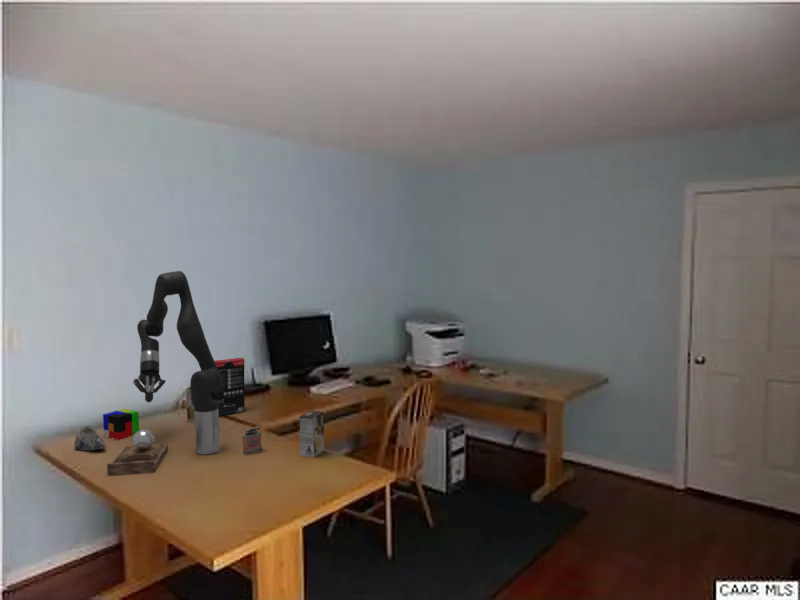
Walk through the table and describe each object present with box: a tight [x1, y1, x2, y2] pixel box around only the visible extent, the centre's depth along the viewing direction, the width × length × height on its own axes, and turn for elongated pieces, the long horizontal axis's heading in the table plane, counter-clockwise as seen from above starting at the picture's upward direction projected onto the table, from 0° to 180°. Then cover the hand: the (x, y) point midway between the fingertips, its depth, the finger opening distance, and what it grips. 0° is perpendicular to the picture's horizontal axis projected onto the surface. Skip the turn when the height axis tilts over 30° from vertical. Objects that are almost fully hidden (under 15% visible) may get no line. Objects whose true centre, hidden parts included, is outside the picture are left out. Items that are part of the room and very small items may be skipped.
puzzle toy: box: [102, 408, 140, 441], centre depth 256 cm, size 10×10×10 cm
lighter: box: [241, 426, 263, 455], centre depth 234 cm, size 8×3×10 cm, turn 129°
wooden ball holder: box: [106, 443, 169, 476], centre depth 224 cm, size 16×24×4 cm, turn 11°
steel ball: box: [131, 428, 155, 450], centre depth 230 cm, size 8×8×8 cm
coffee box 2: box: [299, 410, 325, 458], centre depth 233 cm, size 9×6×16 cm
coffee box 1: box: [185, 386, 195, 423], centre depth 277 cm, size 9×6×16 cm
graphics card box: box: [210, 357, 246, 417], centre depth 288 cm, size 17×7×27 cm, turn 130°
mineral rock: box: [73, 425, 107, 451], centre depth 237 cm, size 13×11×10 cm
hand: (149, 401), depth 240 cm, fingers closed
